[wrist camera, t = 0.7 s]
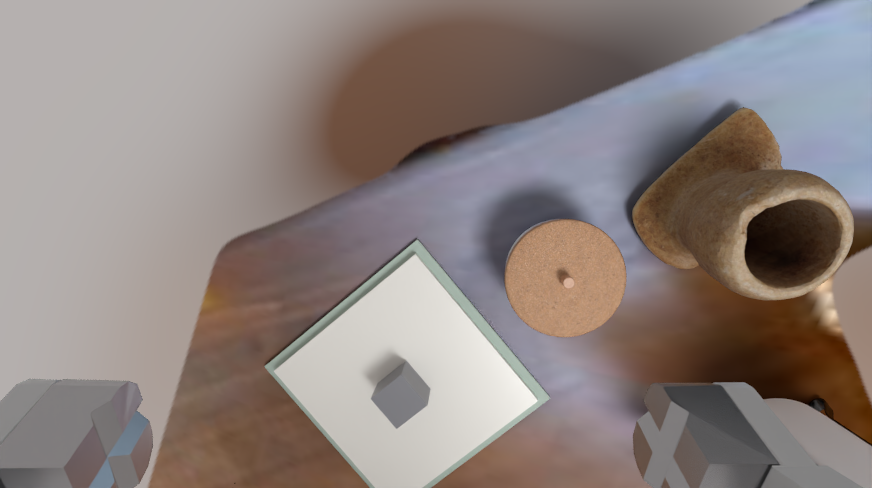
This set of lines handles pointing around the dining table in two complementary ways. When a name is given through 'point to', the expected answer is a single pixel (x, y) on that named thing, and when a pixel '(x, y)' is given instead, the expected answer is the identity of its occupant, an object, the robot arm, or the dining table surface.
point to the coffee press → (826, 438)
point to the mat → (463, 302)
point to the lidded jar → (564, 277)
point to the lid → (406, 380)
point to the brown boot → (745, 215)
